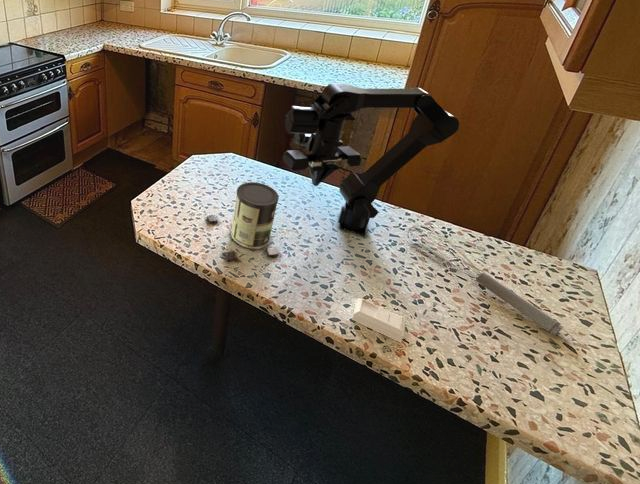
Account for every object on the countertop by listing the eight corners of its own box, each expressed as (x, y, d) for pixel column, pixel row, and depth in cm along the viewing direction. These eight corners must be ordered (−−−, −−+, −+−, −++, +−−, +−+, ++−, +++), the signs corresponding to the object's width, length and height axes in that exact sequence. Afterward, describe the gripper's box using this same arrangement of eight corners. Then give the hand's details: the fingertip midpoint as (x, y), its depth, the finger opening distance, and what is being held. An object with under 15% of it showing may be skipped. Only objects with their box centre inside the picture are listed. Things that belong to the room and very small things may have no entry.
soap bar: (400, 342, 80) (404, 334, 79) (351, 319, 85) (354, 311, 84) (402, 325, 84) (406, 316, 83) (355, 303, 89) (358, 295, 87)
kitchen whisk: (563, 350, 79) (579, 329, 76) (397, 242, 106) (405, 223, 104) (577, 338, 81) (593, 317, 79) (412, 235, 109) (419, 217, 106)
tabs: (251, 214, 116) (251, 212, 116) (278, 256, 101) (278, 254, 101) (206, 218, 115) (207, 215, 114) (227, 261, 100) (227, 259, 99)
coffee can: (267, 226, 112) (276, 184, 105) (271, 252, 103) (281, 208, 96) (230, 220, 114) (236, 179, 107) (230, 245, 105) (237, 202, 98)
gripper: (342, 118, 108) (329, 166, 115) (278, 121, 106) (268, 171, 113) (370, 137, 98) (354, 189, 105) (299, 141, 96) (287, 194, 103)
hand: (314, 185), depth 107 cm, fingers closed
